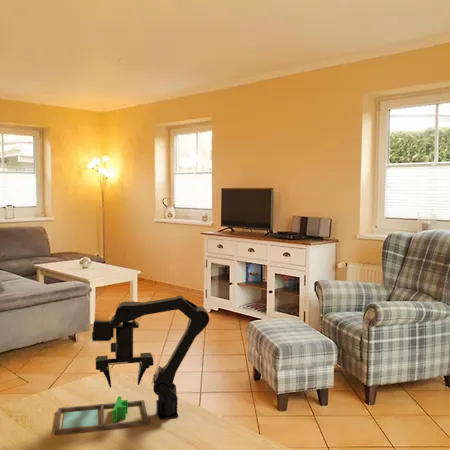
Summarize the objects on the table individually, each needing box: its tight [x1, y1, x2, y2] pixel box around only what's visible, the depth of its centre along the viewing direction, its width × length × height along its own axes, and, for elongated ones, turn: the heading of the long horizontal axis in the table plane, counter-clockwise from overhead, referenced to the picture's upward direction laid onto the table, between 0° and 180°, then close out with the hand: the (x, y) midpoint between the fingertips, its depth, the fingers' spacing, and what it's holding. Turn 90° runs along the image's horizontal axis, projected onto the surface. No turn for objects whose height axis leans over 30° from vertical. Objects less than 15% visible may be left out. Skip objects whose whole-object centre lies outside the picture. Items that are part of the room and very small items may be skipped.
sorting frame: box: [54, 399, 150, 435], centre depth 160 cm, size 29×16×1 cm, turn 105°
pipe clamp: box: [112, 395, 129, 424], centre depth 162 cm, size 11×4×5 cm, turn 3°
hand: (124, 385), depth 162 cm, fingers open, 9 cm apart
